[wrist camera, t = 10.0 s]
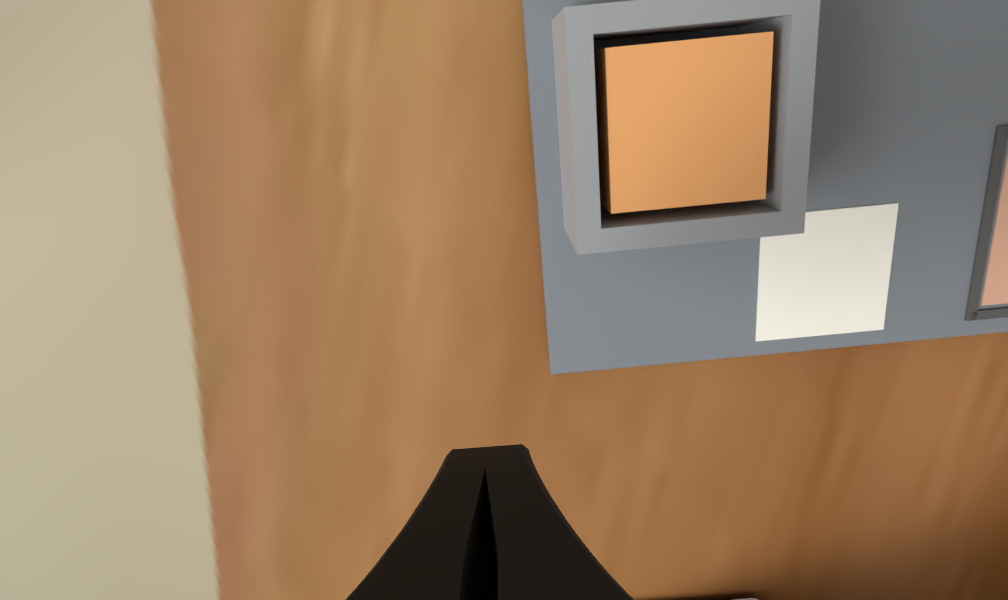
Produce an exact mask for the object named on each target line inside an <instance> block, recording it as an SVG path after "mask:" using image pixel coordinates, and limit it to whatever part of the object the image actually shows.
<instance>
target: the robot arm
mask: <svg viewBox="0 0 1008 600" xmlns="http://www.w3.org/2000/svg"><path fill="white" fill-rule="evenodd" d="M346 600H634V599H633V598H632V597H630V596H629V595H628V594H627V593H626V591H625V590H624V589H623V588H622V587H621V586H620V585H619V584H618V583H617V582H616V581H615V580H614V579H613V578H612V577H611V575H610V574H609V573H608V572H607V571H606V570H605V569H604V568H603V566H602V565H601V564H600V563H599V562H598V561H597V559H596V558H595V557H594V556H593V555H592V553H591V552H590V551H589V550H588V548H587V547H586V546H585V544H584V543H583V542H582V541H581V539H580V538H579V537H578V535H577V534H576V533H575V531H574V530H573V529H572V527H571V526H570V524H569V523H568V522H567V520H566V519H565V517H564V516H563V514H562V513H561V511H560V510H559V508H558V507H557V505H556V504H555V502H554V501H553V499H552V497H551V496H550V494H549V492H548V491H547V489H546V487H545V486H544V484H543V482H542V480H541V478H540V476H539V475H538V472H537V470H536V468H535V466H534V464H533V462H532V459H531V456H530V453H529V450H528V449H527V448H526V447H525V446H524V445H522V444H520V445H507V446H493V447H480V448H467V449H453V450H451V452H450V453H449V454H448V455H447V456H446V458H445V460H444V462H443V464H442V466H441V468H440V470H439V471H438V473H437V475H436V477H435V479H434V480H433V482H432V484H431V485H430V487H429V489H428V491H427V492H426V494H425V496H424V497H423V499H422V500H421V502H420V503H419V505H418V506H417V508H416V509H415V511H414V512H413V514H412V516H411V517H410V519H409V520H408V522H407V523H406V525H405V526H404V528H403V529H402V530H401V532H400V533H399V534H398V536H397V537H396V538H395V540H394V541H393V542H392V544H391V545H390V546H389V548H388V549H387V550H386V552H385V553H384V554H383V556H382V557H381V558H380V560H379V561H378V562H377V564H376V565H375V566H374V567H373V569H372V570H371V571H370V572H369V573H368V575H367V576H366V577H365V578H364V580H363V581H362V582H361V583H360V584H359V585H358V586H357V588H356V589H355V590H354V591H353V592H352V593H351V594H350V595H349V597H348V598H347V599H346ZM733 600H758V599H756V598H744V599H733Z"/></svg>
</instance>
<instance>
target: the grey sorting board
mask: <svg viewBox="0 0 1008 600" xmlns="http://www.w3.org/2000/svg"><path fill="white" fill-rule="evenodd" d="M522 8H523V21H524V34H525V47H526V61H527V74H528V87H529V101H530V114H531V127H532V141H533V154H534V167H535V180H536V194H537V207H538V220H539V234H540V247H541V260H542V274H543V287H544V300H545V313H546V327H547V340H548V353H549V366H550V371H551V374H561V373H572V372H582V371H593V370H604V369H615V368H625V367H636V366H647V365H657V364H668V363H679V362H689V361H700V360H711V359H721V358H732V357H743V356H753V355H764V354H775V353H785V352H796V351H807V350H818V349H828V348H839V347H850V346H860V345H871V344H882V343H892V342H903V341H914V340H924V339H935V338H946V337H956V336H967V335H978V334H989V333H999V332H1008V0H522ZM772 31H774V35H773V56H772V76H771V97H770V118H769V139H768V160H767V181H766V199H760V200H749V201H739V202H728V203H718V204H708V205H697V206H687V207H676V208H666V209H656V210H645V211H635V212H624V213H614V214H611V213H610V212H609V211H608V210H607V209H606V208H605V207H604V205H603V204H602V203H601V202H600V187H599V163H598V139H597V114H596V90H595V66H594V51H597V50H601V49H604V48H610V47H620V46H630V45H640V44H650V43H660V42H670V41H681V40H691V39H701V38H711V37H721V36H731V35H741V34H751V33H762V32H772Z"/></svg>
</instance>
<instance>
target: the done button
mask: <svg viewBox="0 0 1008 600" xmlns="http://www.w3.org/2000/svg"><path fill="white" fill-rule="evenodd" d="M773 35H774V31H772V32H762V33H751V34H741V35H731V36H721V37H711V38H701V39H691V40H681V41H670V42H660V43H650V44H640V45H630V46H620V47H610V48H604V49H601V50H597V51H594V66H595V90H596V114H597V139H598V163H599V187H600V202H601V203H602V204H603V205H604V207H605V208H606V209H607V210H608V211H609V212H610V213H611V214H614V213H624V212H635V211H645V210H656V209H666V208H676V207H687V206H697V205H708V204H718V203H728V202H739V201H749V200H760V199H766V181H767V160H768V139H769V118H770V97H771V76H772V56H773Z"/></svg>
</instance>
